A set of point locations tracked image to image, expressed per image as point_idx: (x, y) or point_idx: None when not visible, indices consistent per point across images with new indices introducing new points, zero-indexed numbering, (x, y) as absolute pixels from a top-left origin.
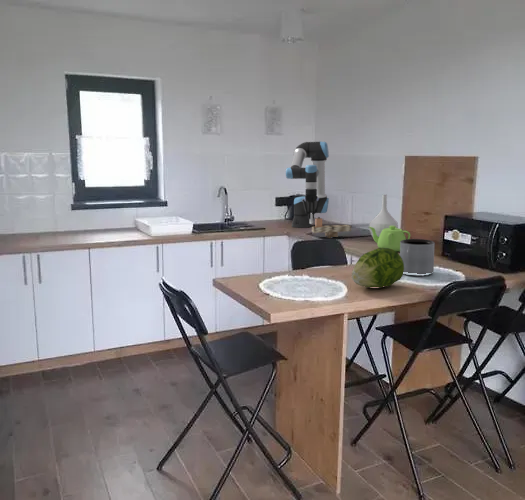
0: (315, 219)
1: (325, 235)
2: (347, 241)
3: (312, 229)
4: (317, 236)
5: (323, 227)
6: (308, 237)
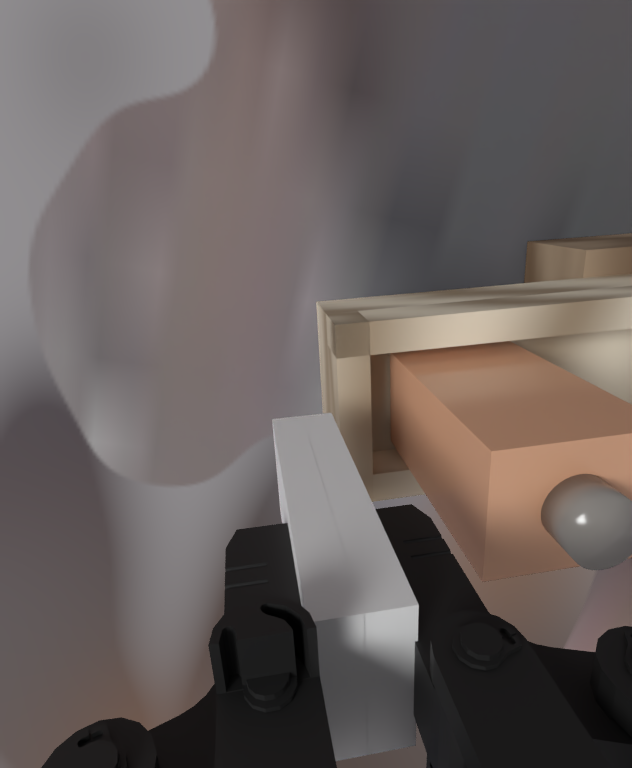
0: (475, 455)
1: (535, 244)
2: (614, 615)
3: (326, 359)
4: (409, 220)
5: None
6: (245, 286)
